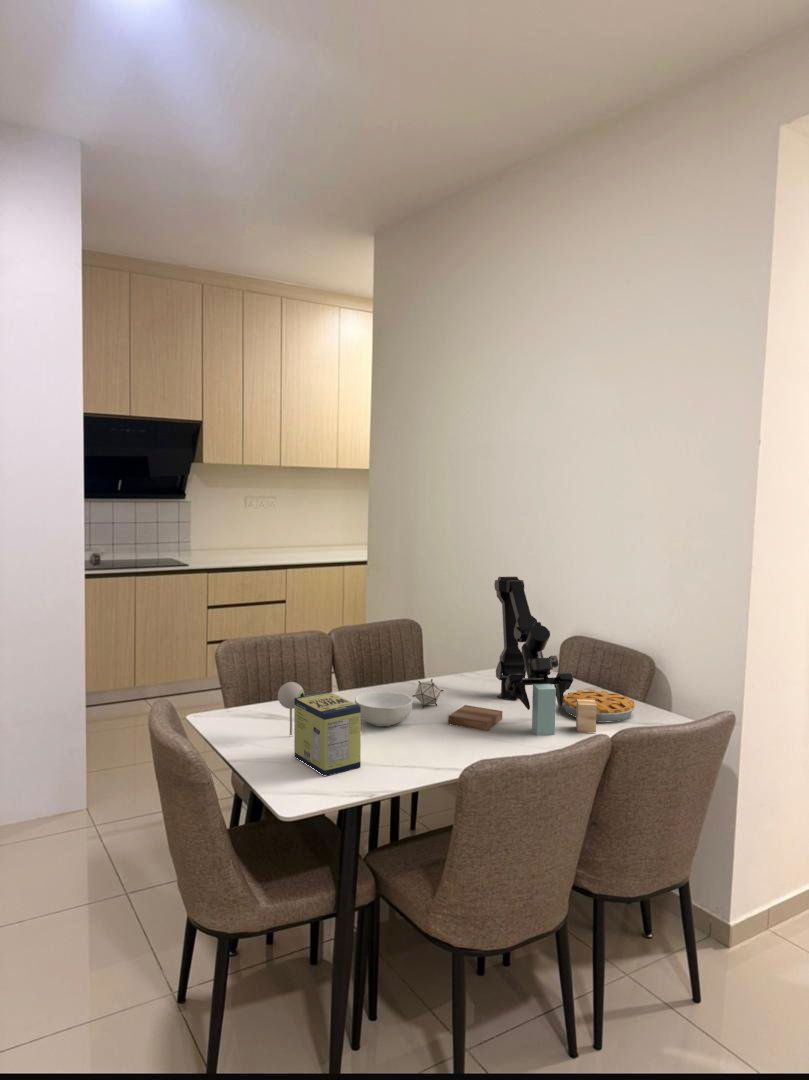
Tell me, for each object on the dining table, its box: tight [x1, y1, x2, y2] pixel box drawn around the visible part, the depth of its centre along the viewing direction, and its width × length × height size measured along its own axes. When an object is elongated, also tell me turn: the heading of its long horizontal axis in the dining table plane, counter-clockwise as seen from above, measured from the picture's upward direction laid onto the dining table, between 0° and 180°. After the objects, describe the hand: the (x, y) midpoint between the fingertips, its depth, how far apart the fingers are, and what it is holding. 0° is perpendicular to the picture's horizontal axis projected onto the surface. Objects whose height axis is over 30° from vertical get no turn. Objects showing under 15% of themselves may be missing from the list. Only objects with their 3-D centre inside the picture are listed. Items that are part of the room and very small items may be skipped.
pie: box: [562, 689, 637, 722], centre depth 231 cm, size 22×22×5 cm
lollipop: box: [277, 681, 305, 736], centre depth 205 cm, size 7×7×15 cm
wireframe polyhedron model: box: [412, 678, 444, 709], centre depth 235 cm, size 9×8×10 cm
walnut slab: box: [447, 704, 504, 732], centre depth 221 cm, size 12×12×3 cm
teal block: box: [531, 684, 557, 736], centre depth 212 cm, size 5×5×13 cm
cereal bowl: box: [354, 691, 413, 727], centre depth 219 cm, size 17×17×7 cm
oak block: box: [575, 699, 597, 733], centre depth 214 cm, size 5×5×8 cm
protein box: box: [293, 691, 362, 776], centre depth 187 cm, size 10×16×16 cm
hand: (545, 708), depth 211 cm, fingers open, 9 cm apart
